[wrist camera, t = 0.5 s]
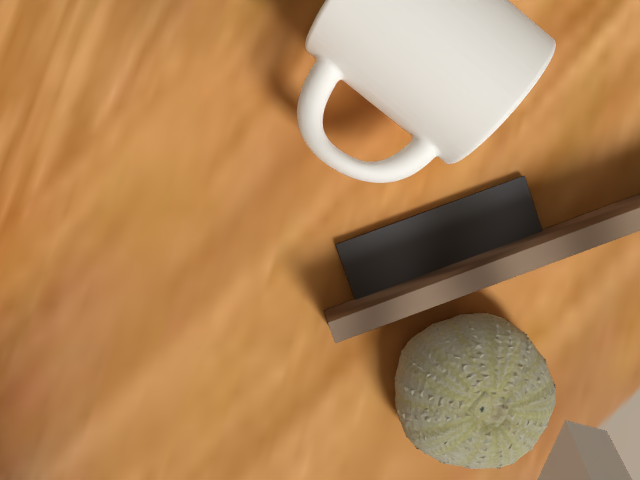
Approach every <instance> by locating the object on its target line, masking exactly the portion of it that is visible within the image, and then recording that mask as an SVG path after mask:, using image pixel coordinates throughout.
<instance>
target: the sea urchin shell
mask: <svg viewBox="0 0 640 480" xmlns="http://www.w3.org/2000/svg"><path fill="white" fill-rule="evenodd" d="M394 379H395V392H396V396H395V399H394V400H395V401H396V403H395V407H396V410H397V412H398V416H399V420H400V422H401V424H402V427H403V429H404V432H405V434H406V437H407V438H408V439H409V440H410V441H411V442H412V443H413V444H414V445H415V447H416V448H417V449H420V450H421V451H422V452H424V453H425V454H427V455H429V456H431V457H433V458H435V459H437V460H439V462H440V463H446V464H451V465H457V466H462V467H465V468H470V469H471V468H473V469H476V468H497V469H498V468H499V469H500V468H501V467H503V466H506V465H509V464H510V465H511V464H513V463H515V462H516V461H517V460H518V459H519V458H520V457H522V456H523V455H524V454H525V453H527V452H528V451H531V450H532V449H533V446H534V445H535V443H536V442H537V441H538V439H539V437H540V435H541V434H542V433H543V432H544V430H545V428H546V427H547V426H548V421H549V419H550V416H551V414H552V411H553V409H554V406H555V403H556V401H555V389H556V387H554V386H555V384H554V382H553V380H552V377H551V375H550V373H549V370H548V367H547V363H546V359H544V358H543V356H542V355H541V354H540V353H539V352H538V350H537V349H536V347H535V346H534V344H533V343H532V341H531V340H530V339H529V337H528V335H527V334H525V333H524V332H523V331H521V330H520V329H518V328H517V327H516V326H514V325H512V324H511V323H510V322H509V321H507V320H505V319H504V318H502V317H499V316H496V315H492V314H488V313H486V312H485V313H474V314H459V315H458V316H455V317H453V318H450V319H447V320H443V321H439V322H437V323H432V325H430V326H428V327H427V328H425V329H424V330H423V331H422V332H420V333H418V334H416V335H415V336H413V337H412V338H410V341H409V342H408V343H407V344H406V346H405V347H404V349H402V351H401V355H400V358H399V363H398V368H397V371H396V376H395V377H394Z"/></svg>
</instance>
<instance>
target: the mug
mask: <svg viewBox="0 0 640 480" xmlns="http://www.w3.org/2000/svg"><path fill="white" fill-rule="evenodd" d="M555 46H556V44H555V40H554V39H553V38H552V37H551V36H550V35H548V34H547V33H546V32H545V31H544V30H542V29H541V28H540V27H539V26H538V25H537V24H535V23H534V22H533V21H532V20H531V19H529V18H528V17H527V16H526V15H525V14H524V13H522V12H521V11H520V10H519V9H518V8H516V7H515V6H514V5H513V4H512V3H511V2H509V1H508V0H325V2H324V4H323V5H322V7H321V9H320V11H319V12H318V14H317V16H316V18H315V20H314V22H313V24H312V26H311V28H310V30H309V32H308V35H307V38H306V42H305V49H306V51H307V52H308V53H309V54H311V55H312V56H313V57H314V58H316V62H315V64H314V65H313V67H312V68H311V70H310V72H309V74H308V76H307V78H306V79H305V82H304V84H303V86H302V89H301V92H300V95H299V99H298V105H297V121H298V126H299V130H300V133H301V135H302V137H303V139H304V141H305V143H306V144H307V146H308V147H309V148H310V150H311V151H312V152H313V153H314V154H315V155H316V156H317V157H318V158H319V159H320V160H322V161H323V162H324V163H326V164H327V165H329V166H330V167H332V168H333V169H335V170H337V171H339V172H340V173H342V174H345V175H347V176H349V177H352V178H355V179H358V180H362V181H367V182H374V183H386V182H393V181H398V180H401V179H404V178H406V177H409V176H411V175H413V174H414V173H416V172H418V171H419V170H421V169H422V168H423V167H424V166H426V165H427V164H428V163H429V162H430V161H431V160H432V159H433V158H434V157H436V156H438V157H439V158H440V159H441V160H442V161H444V162H445V163H447V164H452V163H456V162H458V161H460V160H461V159H463V158H464V157H466V156H467V155H469V154H470V153H471V152H472V151H474V150H475V149H476V148H477V147H478V146H480V145H481V144H482V143H483V142H484V141H485V140H486V139H487V138H488V137H489V136H490V135H491V134H492V133H493V132H494V131H495V130H496V129H497V128H498V127H499V126H500V125H501V124H502V123H503V122H504V121H505V120H506V119H507V118H508V117H509V116H510V114H511V113H512V112H513V111H514V110H515V109H516V108H517V106H518V105H519V104H520V103H521V102H522V100H523V99H524V98H525V97H526V95H527V94H528V93H529V92H530V90H531V89H532V88H533V86H534V85H535V84H536V82H537V81H538V79H539V78H540V77H541V75H542V74H543V72H544V71H545V69H546V67H547V66H548V64H549V62H550V60H551V58H552V56H553V54H554V51H555ZM339 80H343V81H344V82H345V83H347V84H348V85H349V86H350V87H352V88H353V89H354V90H355V91H357V92H358V93H359V94H360V95H362V96H363V97H364V98H365V99H367V100H368V101H369V102H370V103H372V104H373V105H374V106H375V107H376V108H378V109H379V110H380V111H381V112H383V113H384V114H385V115H386V116H388V117H389V118H390V119H391V120H393V121H394V122H395V123H396V124H398V125H399V126H400V127H401V128H403V129H404V130H405V131H406V132H408V133H409V134H410V135H411V136H412V140H411V142H410V143H408V144H407V145H406V146H405V147H404V148H403V149H402V150H400V151H399V152H397V153H396V154H394V155H393V156H391V157H389V158H387V159H384V160H381V161H375V162H367V161H362V160H358V159H356V158H353V157H351V156H349V155H347V154H346V153H344V152H342V151H341V150H339V149H338V148H337V147H335V146H334V145H333V144H332V143H331V142H330V141H329V139H328V138H327V136H326V135H325V132H324V129H323V113H324V109H325V106H326V103H327V101H328V98H329V96H330V94H331V92H332V90H333V89H334V87H335V85H336V83H337V82H338V81H339Z"/></svg>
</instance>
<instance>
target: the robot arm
mask: <svg viewBox="0 0 640 480" xmlns="http://www.w3.org/2000/svg"><path fill="white" fill-rule="evenodd" d="M538 480H632V479H631V477H630V475H629V473H628V471H627V469H626V467H625V465H624V463H623V461H622V460H621V458H620V456H619V454H618V452H617V450H616V448H615V446H614V444H613V443H612V440H611V438H610V436H609V435H608V433H607V431H605V430H601V429H597V428H593V427H590V426H586V425H582V424H578V423H574V422H570V421H566V420H565V422H564V425H563V427H562V429H561V431H560V433H559V435H558V437H557V439H556V441H555V444H554V446H553V448H552V450H551V452H550V454H549V456H548V458H547V461H546V463H545V465H544V467H543V469H542V471H541V473H540V475H539V477H538Z"/></svg>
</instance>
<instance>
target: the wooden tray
mask: <svg viewBox="0 0 640 480" xmlns="http://www.w3.org/2000/svg"><path fill="white" fill-rule="evenodd" d="M637 231H640V194H638V195H635V196H632V197H630V198H627V199H624V200H622V201H619V202H616V203H613V204H611V205H608V206H605V207H603V208H600V209H597V210H594V211H592V212H589V213H586V214H584V215H581V216H578V217H575V218H573V219H570V220H567V221H565V222H562V223H559V224H556V225H554V226H551V227H548V228H546V229H543V230H542V227H541V224H540V221H539V218H538V215H537V212H536V209H535V206H534V203H533V200H532V197H531V194H530V191H529V188H528V185H527V181H526V178H525V176H521V177H519V178H516V179H513V180H510V181H508V182H505V183H502V184H499V185H497V186H494V187H491V188H488V189H486V190H483V191H480V192H477V193H475V194H472V195H469V196H467V197H464V198H461V199H458V200H456V201H453V202H450V203H447V204H445V205H442V206H439V207H436V208H434V209H431V210H428V211H425V212H423V213H420V214H417V215H414V216H412V217H409V218H406V219H404V220H401V221H398V222H395V223H393V224H390V225H387V226H384V227H382V228H379V229H376V230H373V231H371V232H368V233H365V234H362V235H360V236H357V237H354V238H352V239H349V240H346V241H343V242H341V243H338V244H335V245H336V247H337V250H338V253H339V256H340V259H341V261H342V264H343V267H344V270H345V272H346V275H347V278H348V281H349V284H350V286H351V289H352V292H353V295H354V297H355V299H353V300H350V301H348V302H345V303H342V304H339V305H337V306H334V307H331V308H329V309H326V310H324V312H325V316H326V319H327V322H328V325H329V327H330V330H331V333H332V336H333V338H334V341H335V343H338V342H340V341H343V340H346V339H348V338H351V337H354V336H357V335H359V334H362V333H365V332H367V331H370V330H373V329H375V328H378V327H381V326H384V325H386V324H389V323H392V322H394V321H397V320H400V319H402V318H405V317H408V316H410V315H413V314H416V313H419V312H421V311H424V310H427V309H429V308H432V307H435V306H437V305H440V304H443V303H446V302H448V301H451V300H454V299H456V298H459V297H462V296H464V295H467V294H470V293H473V292H475V291H478V290H481V289H483V288H486V287H489V286H491V285H494V284H497V283H500V282H502V281H505V280H508V279H510V278H513V277H516V276H518V275H521V274H524V273H527V272H529V271H532V270H535V269H537V268H540V267H543V266H545V265H548V264H551V263H554V262H556V261H559V260H562V259H564V258H567V257H570V256H572V255H575V254H578V253H581V252H583V251H586V250H589V249H591V248H594V247H597V246H599V245H602V244H605V243H607V242H610V241H613V240H616V239H618V238H621V237H624V236H626V235H629V234H632V233H634V232H637Z"/></svg>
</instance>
